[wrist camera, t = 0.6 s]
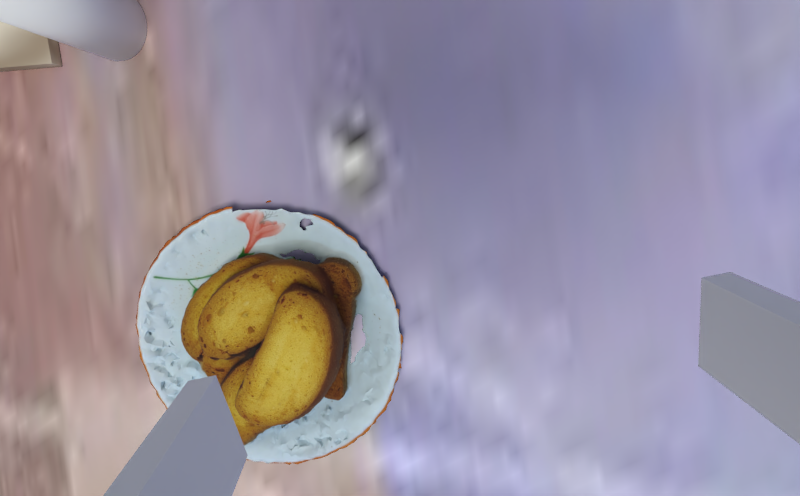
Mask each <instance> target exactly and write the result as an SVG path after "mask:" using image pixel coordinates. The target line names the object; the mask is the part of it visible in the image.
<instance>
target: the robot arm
mask: <svg viewBox="0 0 800 496" xmlns="http://www.w3.org/2000/svg"><path fill="white" fill-rule="evenodd" d="M698 366H699V367H700V368H701V369H703V370H704V371H705V372H706V373H708V374H709V375H710V376H712V377H713V378H714V379H716V380H717V381H718V382H719V383H721V384H722V385H723V386H725V387H726V388H727V389H729V390H730V391H731V392H732V393H734V394H735V395H736V396H738V397H739V398H740V399H742V400H743V401H744V402H745V403H747V404H748V405H749V406H751V407H752V408H753V409H755V410H756V411H757V412H758V413H760V414H761V415H762V416H764V417H765V418H766V419H768V420H769V421H770V422H771V423H773V424H774V425H775V426H777V427H778V428H779V429H781V430H782V431H783V432H784V433H786V434H787V435H788V436H790V437H791V438H792V439H794V440H795V441H796V442H797V443H799V444H800V302H799V301H796V300H794V299H792V298H789V297H787V296H785V295H782V294H780V293H778V292H775V291H773V290H771V289H769V288H766V287H764V286H762V285H759V284H757V283H755V282H752V281H750V280H748V279H745V278H743V277H741V276H738V275H736V274H734V273H731V272H728V273H723V274H718V275H713V276H708V277H703V278H702V280H701V307H700V334H699V360H698ZM247 456H248V455H247V452H246V450H245V447H244V445H243V442H242V440H241V437H240V434H239V432H238V429H237V427H236V424H235V422H234V419H233V417H232V414H231V412H230V409H229V407H228V404H227V402H226V399H225V397H224V394H223V392H222V389H221V387H220V384H219V382H218V379H217V377H216V375H215V376H210V377H205V378H200V379H195V380H190V381H188V382H187V383H186V384H185V386H184V387H183V388H182V390H181V391H180V392H179V394H178V395H177V396H176V398H175V399H174V401H173V402H172V403H171V405H170V406H169V407H168V409H167V410H166V411H165V413H164V414H163V415H162V417H161V418H160V420H159V421H158V422H157V424H156V425H155V426H154V428H153V429H152V430H151V432H150V433H149V434H148V436H147V437H146V439H145V440H144V441H143V443H142V444H141V445H140V447H139V448H138V449H137V451H136V452H135V453H134V455H133V456H132V458H131V459H130V460H129V462H128V463H127V464H126V466H125V467H124V468H123V470H122V471H121V472H120V474H119V475H118V477H117V478H116V479H115V481H114V482H113V483H112V485H111V486H110V487H109V489H108V490H107V491H106V493H105V494H104V496H232V494H233V491H234V489H235V486H236V484H237V481H238V479H239V476H240V474H241V471H242V469H243V466H244V463H245V461H246V458H247Z"/></svg>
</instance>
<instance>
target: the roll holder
mask: <svg viewBox="0 0 800 496" xmlns="http://www.w3.org/2000/svg"><path fill="white" fill-rule="evenodd" d="M60 66H62V62H61V56H60V51H59V45H58V41H55V40H52V39H49V38H46V37H44V36H41V35H38V34H35V33H32V32H29V31H26V30H23V29H21V28H18V27H15V26H12V25H9V24H6V23H3V22H1V21H0V72H3V71H14V70H26V69H37V68H49V67H60Z"/></svg>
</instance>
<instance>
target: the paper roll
mask: <svg viewBox="0 0 800 496" xmlns="http://www.w3.org/2000/svg"><path fill="white" fill-rule="evenodd" d="M0 21H1V22H3V23H6V24H9V25H12V26H15V27H18V28H21V29H23V30H26V31H29V32H32V33H35V34H38V35H41V36H44V37H46V38H49V39H52V40H55V41H58V42H61V43H64V44H66V45H69V46H72V47H75V48H78V49H81V50H84V51H86V52H89V53H92V54H95V55H98V56H101V57H104V58H106V59H109V60H113V61H126V60H129V59H131V58H133V57H134V56H135V55H136V54H137V53H139V51H140V50H141V49H142V47H143V45H144V43H145V40H146V35H147V22H146V17H145V14H144V11H143V9H142V7H141V6H140V4H139V3H138V1H137V0H0Z"/></svg>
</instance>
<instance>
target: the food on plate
mask: <svg viewBox="0 0 800 496" xmlns="http://www.w3.org/2000/svg"><path fill="white" fill-rule="evenodd" d="M267 202H271V201H267ZM267 202H266V203H267ZM304 218H306V219H311V221H312V223H313V225H310V226H307V227H306V230H303V229H302V228H301V227H300V221H301V220H302V219H304ZM299 249H301V250H303V251H304V252H305V253H312V254H313V255H314V257H315V258H316V260H321V261H320V263H319V264H313V263H311V262H307V261H301V259H298V260H296V259H295V257H293V256H288V257H285V258H283V257H282V256H281V255H280V254H285V255H286V254H288V253H290V252H292V251H294V250H299ZM395 307H396V301H395V299H394V297H393V295H392V293H391V292H390V290H389V283H388V281H387V279H386V278H385V276H383V277H381V275H380V274H379V272H378V271H377V269H376V267H375V265H374V264H373V262H372V260H371V259H370V258H369V257H368V256H367V252H366V251H364V250H362V249H361V248H360V247H359V245H358V242H357V239H356V238H354V237H352V236H350V235H348V234H346V233H345V232H344V231H343V230H342V229H341V228H340V227H337V226H335V224H334V223H333V222H332V221H330V220H328V219H325V218H323V217H321V216H318V215H316V214H313V215H306V214H303V213H300V212H288V211H286V210H283V209H278V210H267V209H252V210H237V211H234V212H232V207H225V208H224V209H219V210H217V211H215V212H211V213H209V214H206V215H204V216H203V217H202V218H201V219H200V220H199V219H198V220H196V221H194V222H192V223H191V224H189V225H188V226H186V227H184V228H182V230H181V231H180V232H179V233H178V235H177V236H173V237H172V239H170V240H168V241H167V242H166V243H165V245H164V247H163V248H162V249H161V250H160V251H159V254H158V256H157V257H156V259H155V260H154V261H153V263H152V265H151V266H150V269H149V271H148V273H147V274H146V276H145V278H144V282H143V285H142V287H141V290H140V294H139V300H138V309H137V315H136V319H137V323H136V329H137V333H138V337H139V350H140V358H141V360H142V362H143V365H144V367H145V369H146V372H147V374H148V377H149V380H150V383H151V385H152V386H153V387H154V388H155V390H156V392H157V396H158V397H159V398H160V400H161V401H162V402H163V404H164V405H165V407H166V408H167V409H168V407H169V406H170V405H171V403H172V402H173V401H174V399H175V398H176V396H177V395H178V394H179V392H180V391H181V390H182V388H183V387H184V386H185V384H186V383H187V382H188V381H190V380H195V379H200V378H205V377H210V376H215V375H216V377H217V379H218V382H219V384H220V387H221V389H222V392H223V394H224V397H225V399H226V402H227V404H228V407H229V409H230V412H231V414H232V417H233V419H234V422H235V424H236V427H237V429H238V432H239V434H240V437H241V440H242V442H243V445H244V447H245V450H246V452H247V455H248V456H247V458H246V460H249V461H254V462H261V461H263V462H265V463H286V464H289V465H290V464H291V463H295V464H299V463H302V462H306V461H309V460H311V459H318V458H322V457H325V456H328V455H329V454H331V453H333V452H336V451H338V450H339V449H342V448H345V447H347V446H348V445H350V444H351V443H353V442H355V441H356V440H357V438H358V437H360V436H362V435H364V434H365V433H366V432H367V431H369V429H370V427H371V425H373V424H374V423H375V422H376V419H377V418H378V417H379V416H380V415H381V414H382V413H383V412H384V411H385V410H386V408H387V405H388V403H389V402H390V401H391V396H392V394H393V392H394V385H395V383H396V382H397V380H398V376H399V372H398V369H399V368H401V364H400V360H401V353H400V352H401V350H402V343H403V336H402V335H401V334H400V332H399V309H395ZM357 314H361V315H362V323H363V329H362V330H363V332H364V333H365V336H366V342H365V346H364V347H362V349H361V350H360V351H359V352H358V353H357V355H356V357H355V361H354V362H353V363H351V362H350V359H351V345H350V344H351V340H350V337H351V330H352V329H353V323H354V318H355V316H356V315H357ZM350 363H351V364H350Z"/></svg>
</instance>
